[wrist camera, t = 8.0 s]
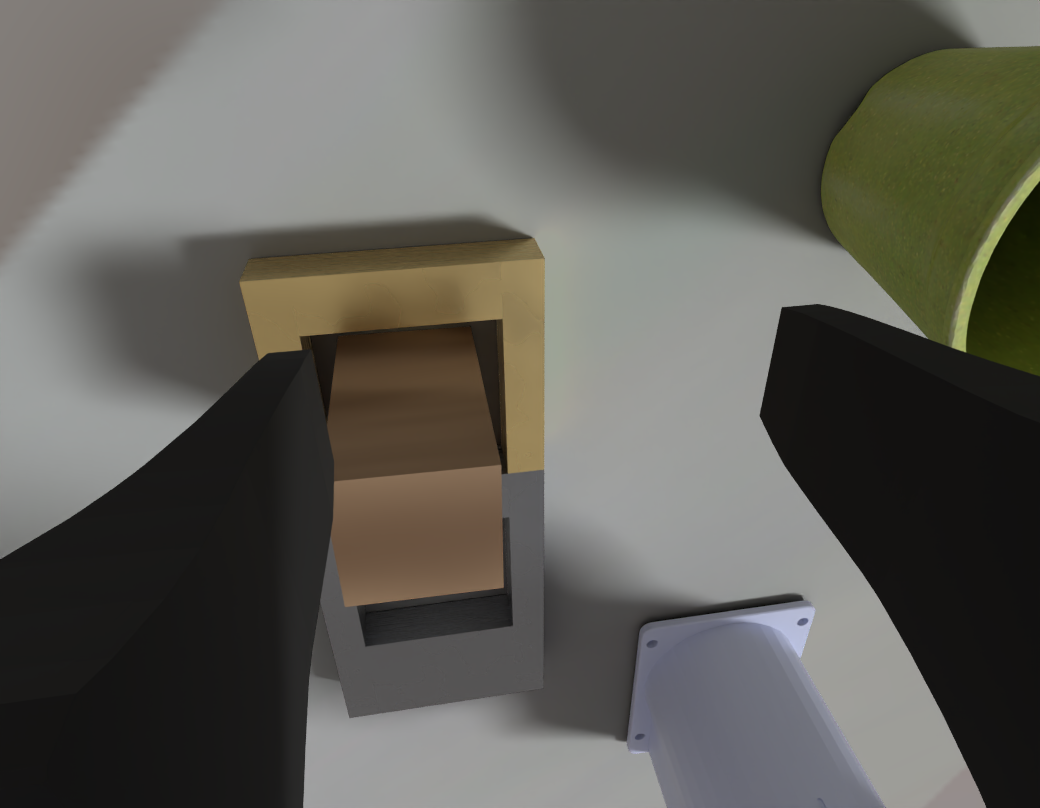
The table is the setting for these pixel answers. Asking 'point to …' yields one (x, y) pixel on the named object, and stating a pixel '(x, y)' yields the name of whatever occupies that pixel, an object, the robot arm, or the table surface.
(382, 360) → the walnut block
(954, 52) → the plant pot
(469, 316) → the tray
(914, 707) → the table surface
